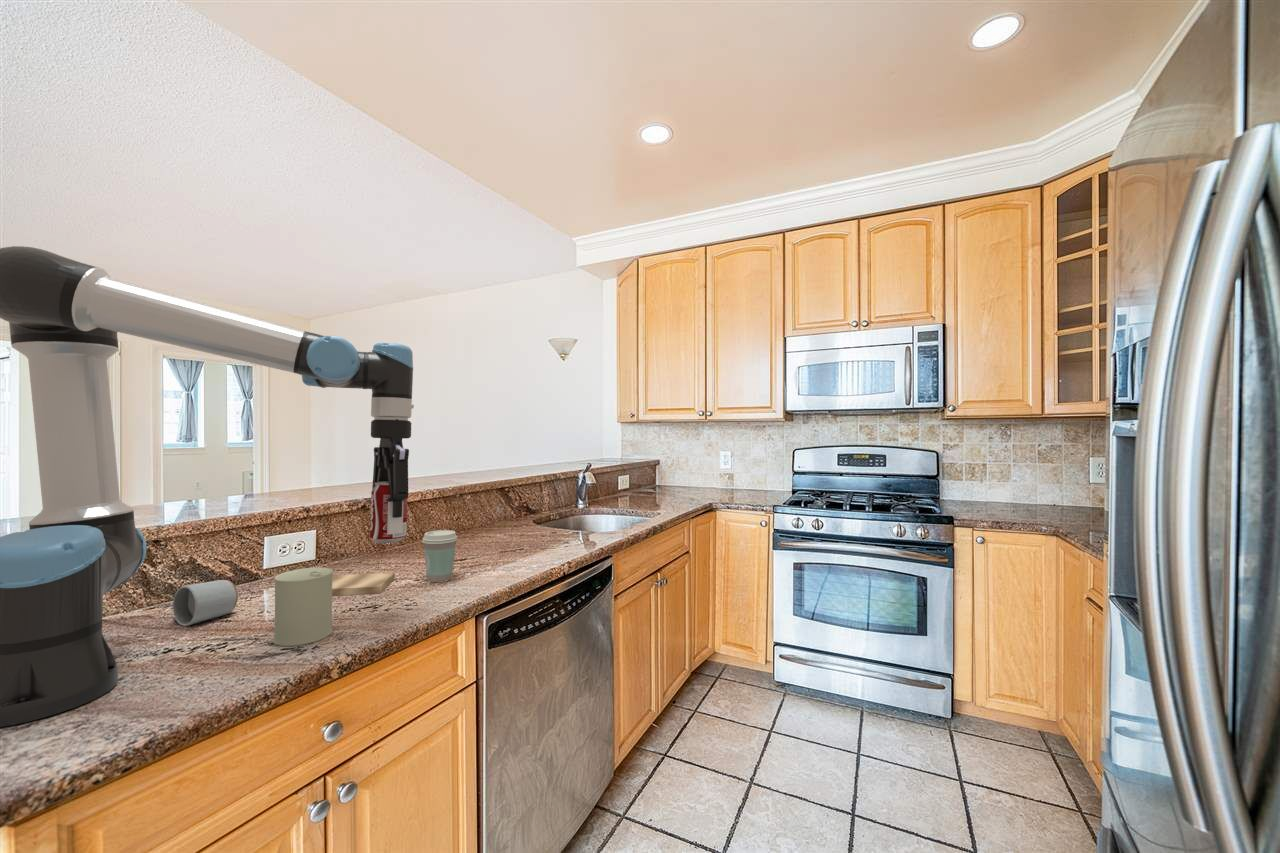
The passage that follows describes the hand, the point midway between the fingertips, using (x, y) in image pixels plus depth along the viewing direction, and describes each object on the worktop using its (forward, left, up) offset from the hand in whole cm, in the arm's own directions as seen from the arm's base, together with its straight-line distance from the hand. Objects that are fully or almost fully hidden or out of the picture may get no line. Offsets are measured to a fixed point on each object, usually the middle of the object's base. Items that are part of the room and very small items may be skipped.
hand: (388, 530), depth 105 cm
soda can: (0, 0, -2) cm, 2 cm away
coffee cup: (-4, +26, -18) cm, 32 cm away
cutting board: (-21, +16, -18) cm, 32 cm away
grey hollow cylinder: (-36, -7, -18) cm, 41 cm away
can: (-9, -12, -18) cm, 23 cm away
